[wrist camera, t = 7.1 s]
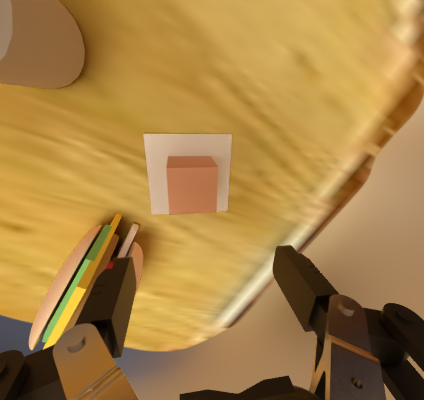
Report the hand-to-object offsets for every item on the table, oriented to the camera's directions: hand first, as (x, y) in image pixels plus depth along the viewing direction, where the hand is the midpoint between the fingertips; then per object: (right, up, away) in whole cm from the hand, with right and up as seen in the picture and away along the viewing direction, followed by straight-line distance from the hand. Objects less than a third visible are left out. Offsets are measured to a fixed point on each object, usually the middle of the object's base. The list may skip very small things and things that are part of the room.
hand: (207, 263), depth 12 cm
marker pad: (-3, +7, +14) cm, 16 cm away
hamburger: (-14, -4, +18) cm, 23 cm away
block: (-2, +6, +14) cm, 16 cm away
